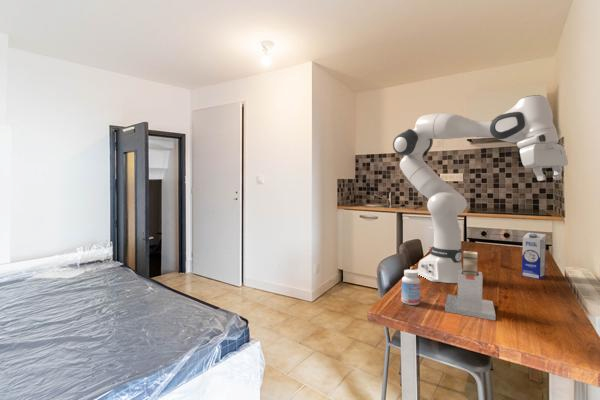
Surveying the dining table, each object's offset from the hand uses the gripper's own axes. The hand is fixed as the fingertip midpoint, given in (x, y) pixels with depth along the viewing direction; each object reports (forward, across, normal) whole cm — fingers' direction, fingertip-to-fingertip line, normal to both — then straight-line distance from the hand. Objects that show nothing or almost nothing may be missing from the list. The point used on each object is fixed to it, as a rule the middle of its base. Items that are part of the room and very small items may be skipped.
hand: (549, 180), depth 102 cm
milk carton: (+40, -34, -32) cm, 61 cm away
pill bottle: (+37, +42, -30) cm, 63 cm away
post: (+38, +27, -17) cm, 50 cm away
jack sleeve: (+40, +28, -18) cm, 51 cm away
